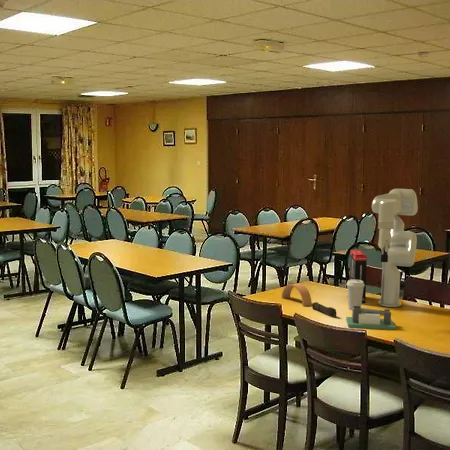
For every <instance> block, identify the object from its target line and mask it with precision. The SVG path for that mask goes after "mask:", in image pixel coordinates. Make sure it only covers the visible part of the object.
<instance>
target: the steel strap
mask: <svg viewBox="0 0 450 450" xmlns="http://www.w3.org/2000/svg"><path fill="white" fill-rule="evenodd" d="M357 308H358V305H357ZM358 309H361V311H363V312H372V313H379V314H380V315H384V314H386V312H388V311H384V309H383V310H381V309H372V308H364V307H361V308H358Z"/></svg>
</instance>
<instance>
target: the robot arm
mask: <svg viewBox="0 0 450 450" xmlns="http://www.w3.org/2000/svg"><path fill="white" fill-rule="evenodd" d="M418 208H419V207H418V197H417V194H416V192H415V190H414V189H412V188H409V189H408V188H393V189H391V190H390V191H389V193H384V194H381V195H380V194H378V195H376V196H375V197H374V198H373V200H372V202H371V210H372V212H373V213H375V214H378V223H377V224H378V226H377V229H379V232H378V234H379V235H378V248H379V249H381V250H380V251H381V254H380V261H381V265H382V266H381V267H382V270H381V271H382V272H381V290H380V291H381V292H380V293H381V294H380V299H379V300H378V301H377V305H379V306H381V307H387V308H399V307H401V306H402V302H401V301H400V286H401V272H400V270H399V269H398V266H399V267H412V266H414V264H415V259H416V253H417V252H416V251H417V242H418V241H417V239H418V238H417V234H416V233H415V232H414V231H409V230H407V231H406V230H404V229H405V222H404V221H403V220H402V218H401V217H400V216H415V215H416V214H417V213H418V210H419V209H418Z"/></svg>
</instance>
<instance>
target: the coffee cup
mask: <svg viewBox="0 0 450 450" xmlns="http://www.w3.org/2000/svg"><path fill="white" fill-rule="evenodd" d="M364 286H365V284H364V282H363V281H361V280H350V279H348V280H347V282H346V287H347V289H346V290H347V303H348V304H347V306H348V309H349V310H351V311H352V306H357V305H358V306H360V308H362V304H363V303H362V296H363V288H364Z"/></svg>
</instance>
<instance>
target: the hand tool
mask: <svg viewBox="0 0 450 450" xmlns="http://www.w3.org/2000/svg"><path fill="white" fill-rule="evenodd" d="M311 307H312V310H316V311H318V312H320V313H324V314H326V315H327V316H328V317H330V318H337V310H336V308H334V307H328V306H325V305H323V304H320V303H319V302H312V305H311Z"/></svg>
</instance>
